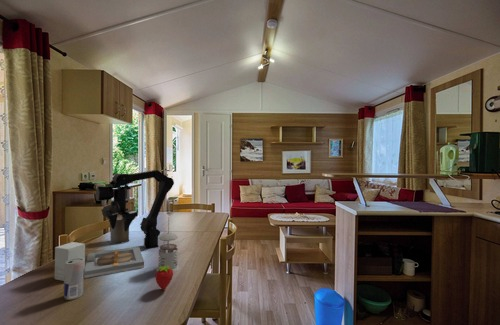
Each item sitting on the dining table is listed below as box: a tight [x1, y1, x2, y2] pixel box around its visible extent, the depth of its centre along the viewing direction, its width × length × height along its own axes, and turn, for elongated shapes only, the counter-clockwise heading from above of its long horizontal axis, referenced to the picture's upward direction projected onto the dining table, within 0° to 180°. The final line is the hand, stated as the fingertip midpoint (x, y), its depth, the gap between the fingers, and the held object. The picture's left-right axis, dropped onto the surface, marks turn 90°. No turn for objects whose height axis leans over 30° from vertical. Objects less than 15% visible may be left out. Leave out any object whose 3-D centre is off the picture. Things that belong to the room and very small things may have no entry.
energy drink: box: [63, 258, 84, 301], centre depth 86 cm, size 5×5×12 cm
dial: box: [97, 249, 132, 266], centre depth 114 cm, size 14×14×5 cm
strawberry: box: [154, 265, 174, 291], centre depth 91 cm, size 6×8×10 cm
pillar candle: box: [109, 215, 130, 245], centre depth 145 cm, size 10×10×15 cm
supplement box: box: [54, 241, 86, 282], centre depth 100 cm, size 7×7×13 cm
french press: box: [155, 210, 180, 273], centre depth 110 cm, size 10×12×25 cm
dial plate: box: [83, 246, 145, 279], centre depth 114 cm, size 22×22×3 cm
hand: (119, 229), depth 125 cm, fingers open, 9 cm apart
